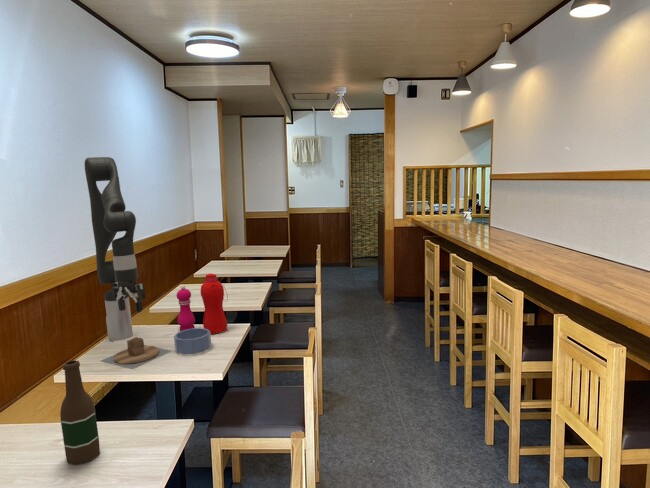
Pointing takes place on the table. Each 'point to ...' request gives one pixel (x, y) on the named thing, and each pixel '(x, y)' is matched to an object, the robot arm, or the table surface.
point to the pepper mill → (185, 310)
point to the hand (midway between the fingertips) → (130, 311)
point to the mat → (132, 366)
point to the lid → (136, 352)
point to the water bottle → (213, 305)
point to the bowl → (192, 341)
